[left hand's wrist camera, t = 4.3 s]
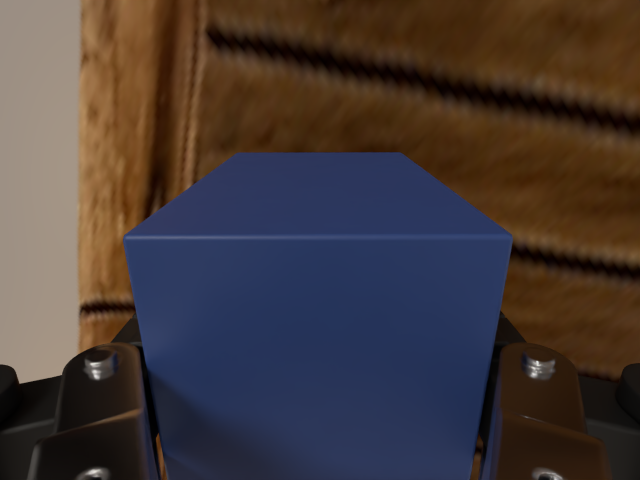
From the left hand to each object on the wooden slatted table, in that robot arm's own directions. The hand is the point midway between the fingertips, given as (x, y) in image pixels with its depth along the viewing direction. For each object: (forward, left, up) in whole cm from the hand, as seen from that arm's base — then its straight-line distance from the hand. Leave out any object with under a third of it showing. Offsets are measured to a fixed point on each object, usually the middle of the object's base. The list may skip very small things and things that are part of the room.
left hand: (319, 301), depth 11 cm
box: (+9, +2, -5) cm, 10 cm away
